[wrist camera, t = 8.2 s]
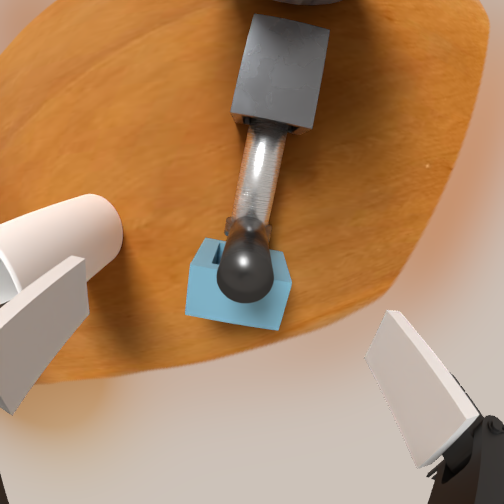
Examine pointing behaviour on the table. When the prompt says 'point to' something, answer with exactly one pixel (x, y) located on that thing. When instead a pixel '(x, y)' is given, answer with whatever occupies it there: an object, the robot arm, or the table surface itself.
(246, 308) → the socket
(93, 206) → the cup
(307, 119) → the block
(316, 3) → the vase
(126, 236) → the table surface
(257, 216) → the handle
